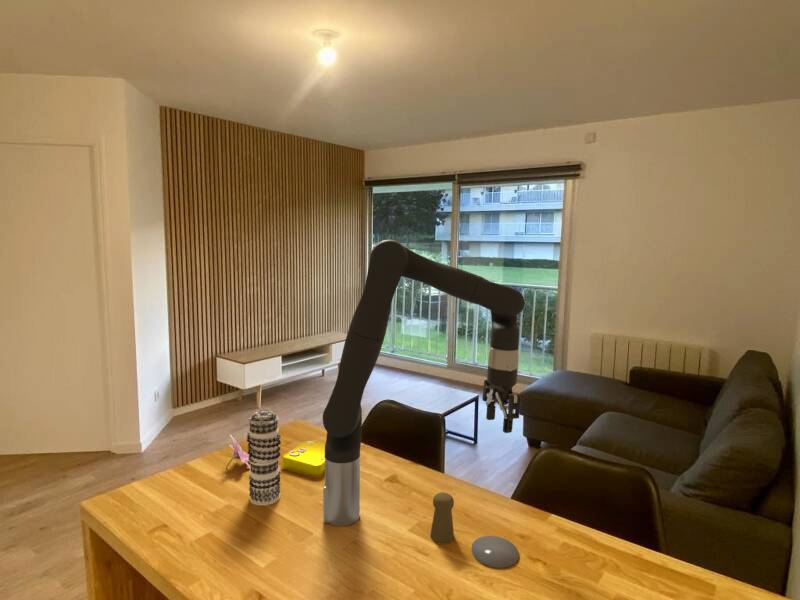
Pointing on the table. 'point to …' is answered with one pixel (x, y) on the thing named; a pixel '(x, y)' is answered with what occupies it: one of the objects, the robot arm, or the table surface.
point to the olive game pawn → (442, 519)
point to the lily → (239, 453)
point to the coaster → (495, 551)
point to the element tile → (306, 459)
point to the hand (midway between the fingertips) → (498, 425)
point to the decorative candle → (264, 458)
